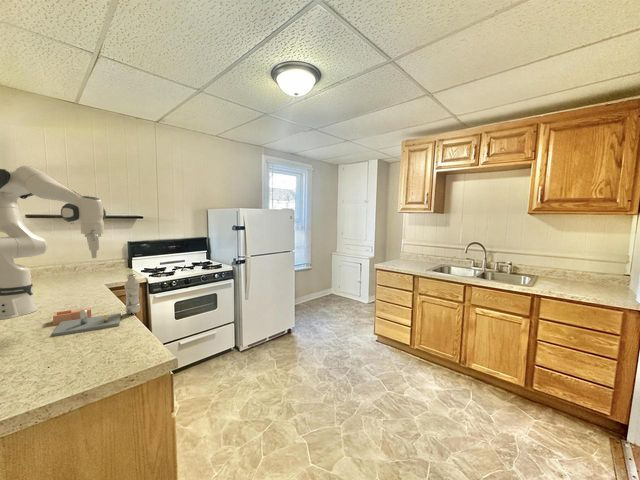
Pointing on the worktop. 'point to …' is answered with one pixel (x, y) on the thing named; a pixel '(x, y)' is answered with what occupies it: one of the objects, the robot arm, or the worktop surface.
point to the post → (84, 317)
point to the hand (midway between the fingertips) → (94, 257)
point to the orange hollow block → (69, 315)
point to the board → (92, 324)
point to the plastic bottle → (132, 294)
